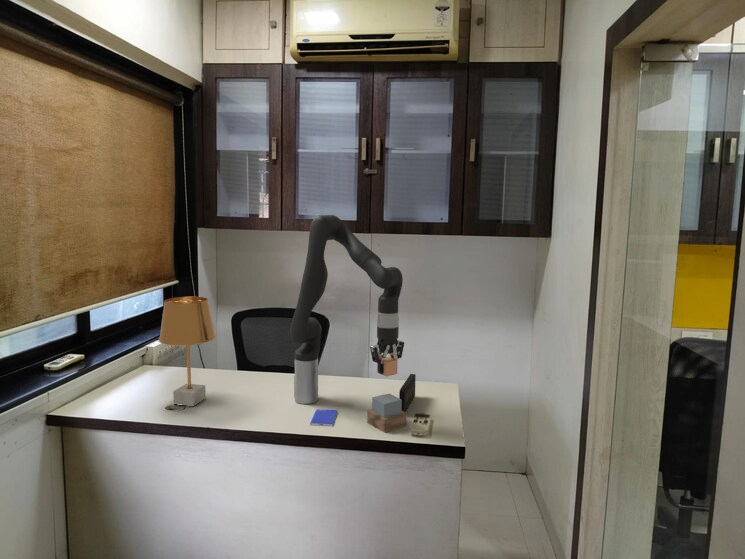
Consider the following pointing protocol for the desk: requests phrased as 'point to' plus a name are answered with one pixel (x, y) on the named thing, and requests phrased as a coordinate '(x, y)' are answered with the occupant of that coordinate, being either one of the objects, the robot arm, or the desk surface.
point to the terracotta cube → (389, 366)
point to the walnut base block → (386, 421)
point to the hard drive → (324, 417)
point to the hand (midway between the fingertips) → (387, 371)
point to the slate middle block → (386, 405)
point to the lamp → (187, 337)
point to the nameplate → (407, 392)
